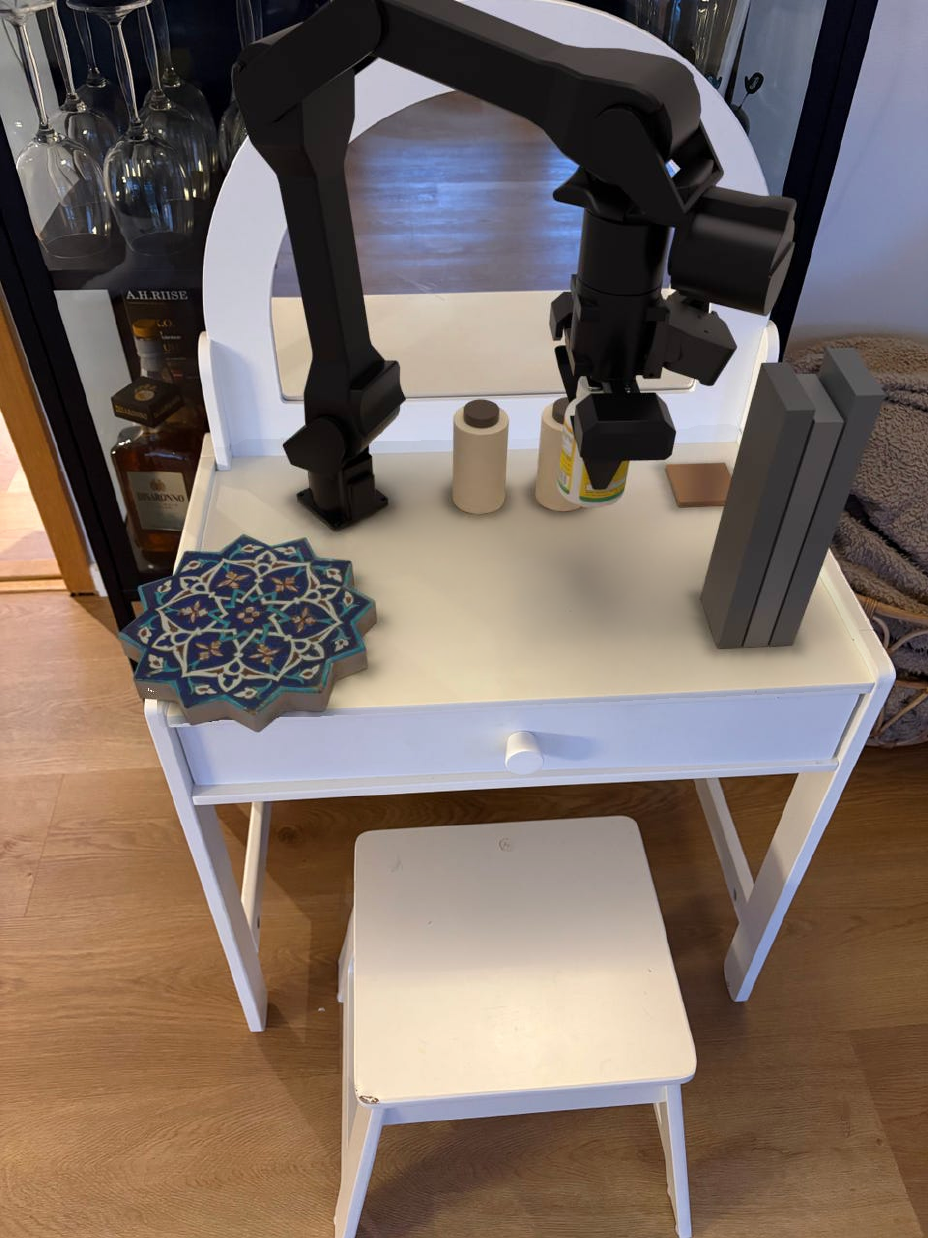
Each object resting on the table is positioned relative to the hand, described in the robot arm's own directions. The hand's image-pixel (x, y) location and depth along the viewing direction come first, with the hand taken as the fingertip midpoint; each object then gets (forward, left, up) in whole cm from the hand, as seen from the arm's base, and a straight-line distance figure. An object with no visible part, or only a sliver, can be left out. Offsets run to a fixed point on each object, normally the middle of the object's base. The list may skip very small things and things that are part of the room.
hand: (594, 466), depth 76 cm
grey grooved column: (+12, +8, -13) cm, 19 cm away
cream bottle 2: (-10, +8, -13) cm, 18 cm away
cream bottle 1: (-15, +2, -13) cm, 20 cm away
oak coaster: (-2, +20, -13) cm, 24 cm away
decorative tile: (-13, -25, -13) cm, 31 cm away
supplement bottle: (0, 0, -2) cm, 2 cm away
